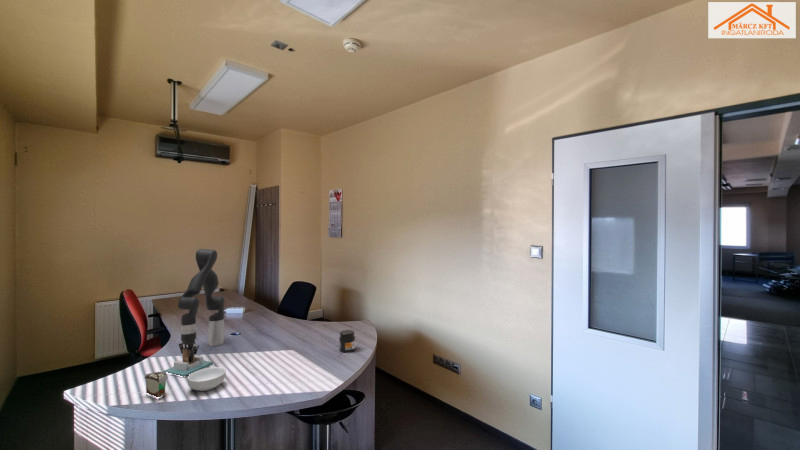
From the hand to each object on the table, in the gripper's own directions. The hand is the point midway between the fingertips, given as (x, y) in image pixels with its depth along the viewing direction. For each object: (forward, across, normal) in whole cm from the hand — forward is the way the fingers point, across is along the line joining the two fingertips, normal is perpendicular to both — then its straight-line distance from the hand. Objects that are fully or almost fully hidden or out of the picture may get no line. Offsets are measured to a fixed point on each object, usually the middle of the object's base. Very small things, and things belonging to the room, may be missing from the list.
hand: (188, 361), depth 186 cm
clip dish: (+4, 0, 0) cm, 4 cm away
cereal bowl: (+5, +30, -13) cm, 33 cm away
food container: (+5, +14, -26) cm, 30 cm away
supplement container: (+5, +74, +54) cm, 92 cm away
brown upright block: (+2, 0, 0) cm, 2 cm away
